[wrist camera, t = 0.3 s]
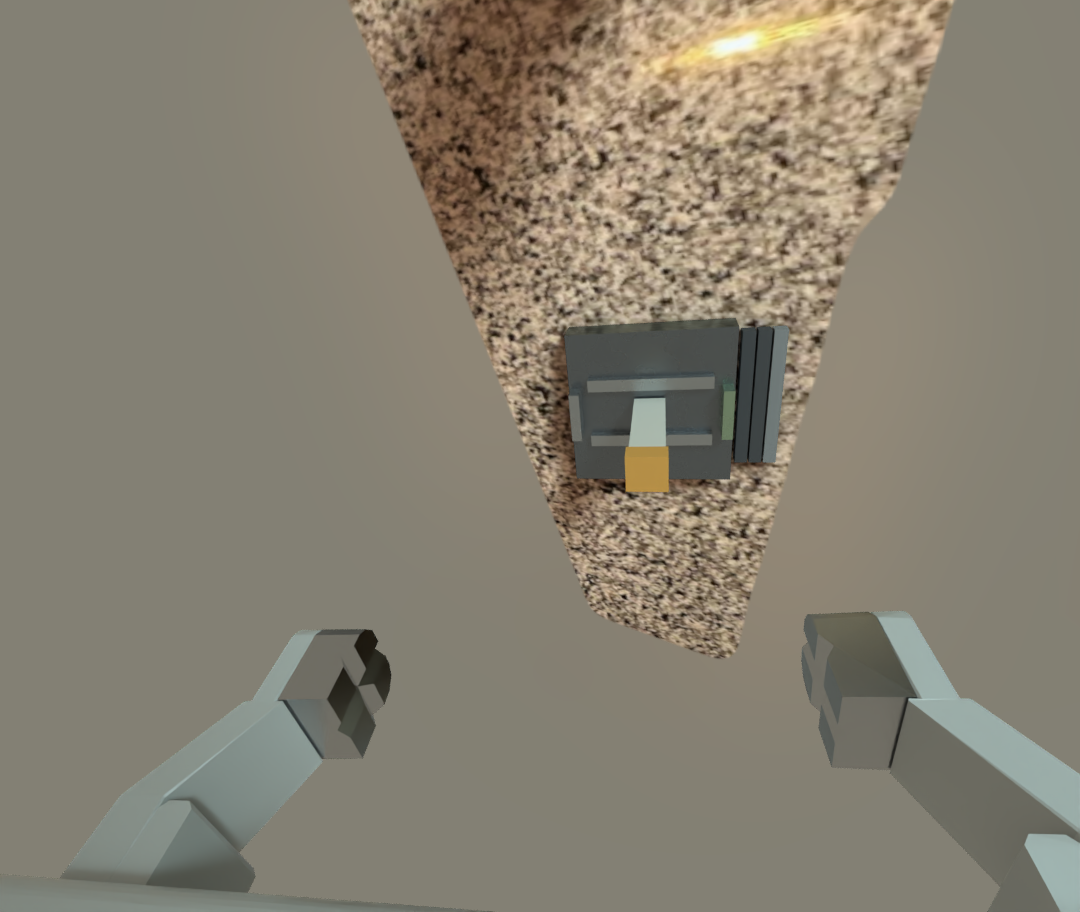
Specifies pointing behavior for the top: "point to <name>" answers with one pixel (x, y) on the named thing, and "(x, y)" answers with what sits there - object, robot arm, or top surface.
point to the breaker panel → (653, 393)
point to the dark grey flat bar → (759, 393)
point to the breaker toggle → (647, 448)
